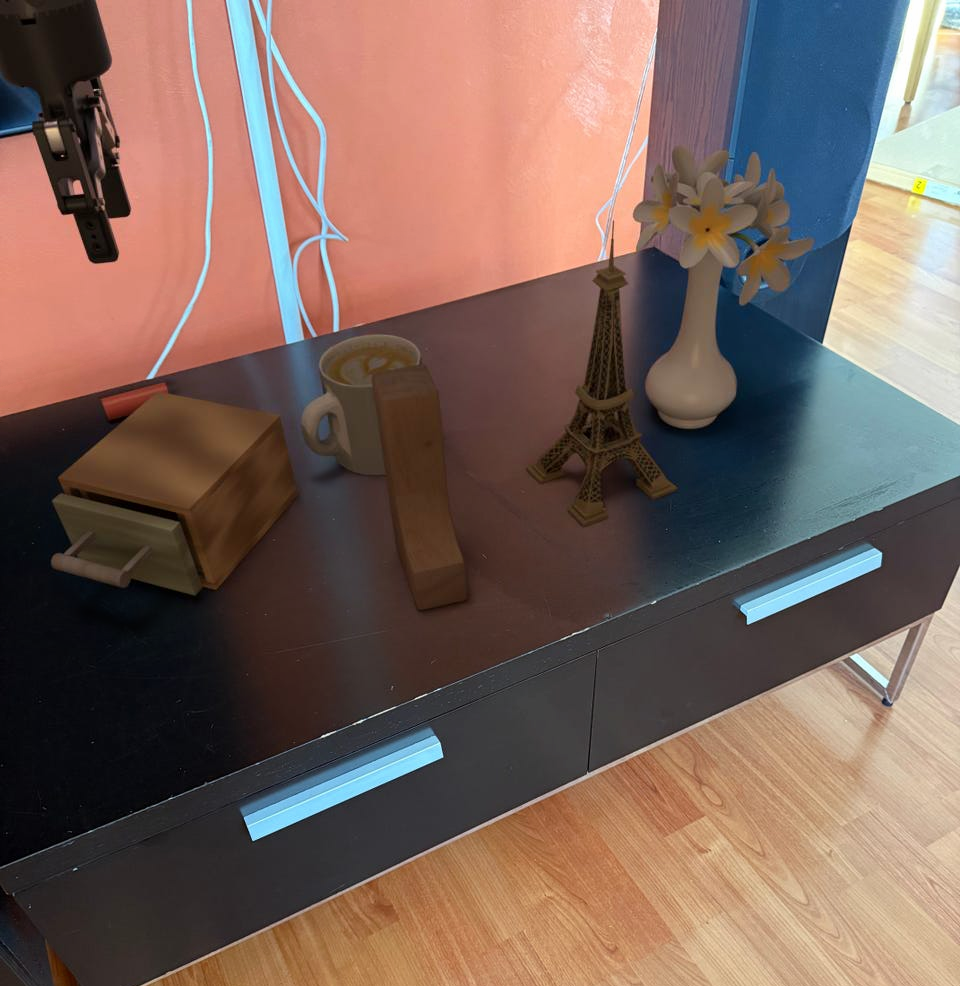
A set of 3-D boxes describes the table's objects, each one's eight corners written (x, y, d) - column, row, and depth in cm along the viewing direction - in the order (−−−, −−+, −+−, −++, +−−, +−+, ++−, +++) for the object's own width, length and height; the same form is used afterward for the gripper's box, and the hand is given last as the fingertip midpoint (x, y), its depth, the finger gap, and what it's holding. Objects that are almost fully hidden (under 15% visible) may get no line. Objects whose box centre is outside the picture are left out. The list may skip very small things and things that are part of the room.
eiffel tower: (614, 437, 98) (630, 184, 80) (676, 490, 91) (709, 227, 73) (525, 469, 95) (521, 214, 77) (583, 527, 88) (593, 261, 70)
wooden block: (468, 601, 82) (454, 420, 69) (417, 612, 81) (393, 432, 68) (443, 537, 88) (425, 361, 75) (395, 548, 87) (369, 371, 74)
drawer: (163, 632, 80) (136, 566, 74) (46, 598, 83) (13, 534, 78) (275, 505, 91) (258, 440, 86) (168, 480, 95) (146, 417, 90)
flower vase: (713, 479, 92) (755, 217, 74) (589, 400, 103) (599, 154, 85) (805, 430, 97) (864, 174, 79) (678, 360, 108) (704, 120, 90)
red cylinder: (110, 425, 104) (103, 407, 102) (106, 412, 106) (99, 394, 104) (173, 408, 106) (168, 390, 104) (168, 395, 108) (163, 378, 106)
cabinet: (216, 590, 84) (188, 508, 78) (93, 557, 88) (57, 477, 82) (298, 495, 93) (280, 415, 87) (183, 469, 98) (157, 391, 91)
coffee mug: (403, 410, 103) (393, 324, 96) (447, 454, 97) (439, 366, 90) (289, 450, 99) (269, 363, 92) (327, 499, 93) (308, 409, 86)
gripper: (-2, -24, 68) (77, 208, 80) (-50, 27, 58) (48, 283, 70) (105, -33, 69) (168, 198, 80) (75, 16, 59) (152, 272, 70)
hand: (112, 237), depth 75 cm, fingers open, 8 cm apart
